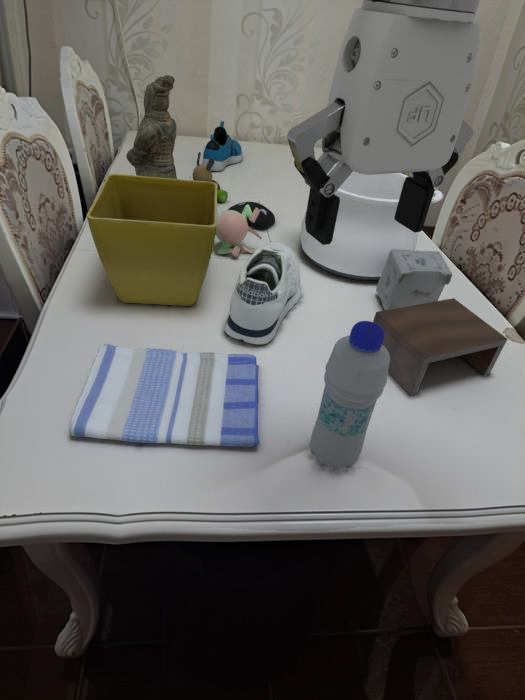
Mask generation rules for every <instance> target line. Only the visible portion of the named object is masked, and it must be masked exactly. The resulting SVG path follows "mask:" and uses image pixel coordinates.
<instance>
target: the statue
mask: <svg viewBox="0 0 525 700" xmlns="http://www.w3.org/2000/svg"><path fill="white" fill-rule="evenodd" d="M175 81H176V80H175V77H174V76H172V75H167V74H166V75H164V76H159V77H157V78H156V79H155V80H154V81H152V82H151V83H148V84H147V85H146V87H145V90H144V93H143V107H144V115H143V118H142V120H141V121H140V122H139V125H138V126H139V127H138V129H137V132H136V135H135V138H134V141H133V147H132V148H131V149H129V150H128V151H126V152H127V153H126V155H125V156H126V160H127V161H128V162H129V164H130V165H131V166H132V167H134V170H135V171H134V172H135V175H136V176H148V177H159V178H172V179H178V176H177V171H176V164H175V161H174V160H175V158H174V154H173V153H174V150H175V144H176V143H175V142H176V139H177V129H178V127H177V123H176V120H175V119H174V118H172V116H171V113H170V112H169V111H168V110H169V108H170V94H171V91H172V90H173V89H174V84H175Z"/></svg>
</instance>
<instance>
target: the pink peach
mask: <svg viewBox="0 0 525 700" xmlns="http://www.w3.org/2000/svg"><path fill="white" fill-rule="evenodd" d="M259 213H260V210H259V209H258V208H255V210H254V211H253V213H252V211H251V208H250V206H249V205H248V204H247V205H246V206H245V207H244V210H243V212H242V214H240V213H239V212H237V211H234V210H228V209H227V210H223V211H221V213H219V214H217V229H216V235H215V238H217V239H218V240H219V241H220V242H221V243H222V245H221V246H220V247H219V249H218V250H217V255H219V256H220V255H226V254H231V255H233V256H234V257H236V258H238V256H239V254H240V252H241V250H242V251H244V252H246V253H249V254H253V253H254V251H252V250H250V249H248V248H246V247H245V245H243V244H242V242H243V241H244V240H245V239H246V237H247V235H248V232H249V233H251V234H253V235H254V236H256V237H257V238H258V239H260V240H262V236H261V235H260V233H259V232H258V231H256V230H255V228H253V227H249V226H248V224H247V217H248V218H249V220H250V221H251V222H253V223H254V222H255V220H256V218H257V217H258V215H259ZM231 246H234V247H233V248H231Z"/></svg>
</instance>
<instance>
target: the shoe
mask: <svg viewBox="0 0 525 700" xmlns="http://www.w3.org/2000/svg"><path fill="white" fill-rule="evenodd" d="M224 126H225V121H224V120H220V125H219V126H216V127H215V128H214V131H213V133H212V134H210V136H209V137H210V140H209V141H207V143H206V145H205V147H204V149H203V154H202V161H201V165H206V166H207V163H208V161H209V158H211V157H212V158H213V159H214V160H215V163H214V165H213V167H212V168H211V172H223V170H224V169H225V168H226V167H227V166H230V165H236V164H239V163H240V162H241V161H242V160H243V149H242V145H241V144H240V142H239V141H238V140H236V139H232V137H231V136H230V135H229V134H228V132H227V130H226V128H225V127H224Z"/></svg>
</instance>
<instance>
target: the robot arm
mask: <svg viewBox="0 0 525 700" xmlns="http://www.w3.org/2000/svg"><path fill="white" fill-rule="evenodd" d="M480 1H481V0H362V4H361V7H354V10H353V13H352V14H351V15H352V16H351V18H350V21H349V24H348V26H347V30H346V31H345V32H346V33H345V35H344V37H343V38H344V39H343V42H342V45H341V48H340V51H339V55H338V59H337V61H336V65H335V69H334V74H333V77H332V81H331V85H330V91H329V94H328V99H327V105H326V107H324V108H323V109H321V110H319V111H318V112H316V113H314V114H313V115H312V116H309V117H308V118H306V119H305V120H303V121H302V122H300V123H298V124H297V125H295V126H294V127H291V128H290V129H289V130H288V132H287V134H286V139H287V143H288V146H289V148H290V151H291V152H290V153H291V155H292V158H293V159H294V160H293V164H294V167H295V169H296V170H297V172H298V173H299V174H300V175H301V177H302V178H303V180H304V183H305V185H307V186H308V187H309V194H308V198H307V199H308V200H307V205H306V211H305V213H306V217H305V225H306V231H307V233H309V234H310V235H311V236H312V237H314V238H315V239H316V240H317V241H319V242H320V243H321V244H322V245H327V244H330V243H331V242H332V239H333V234H334V229H335V224H336V219H337V214H338V209H339V204H340V198H339V197H338V196H336V195H335V194H334V193H335V192H336V191H337V190H338V189H339V187H340V186H341V185H342V184H343V183H344V181H345V180H346V179H347V178H348V177H349V176H350V174H351V173H352V172H353V171H354V172H356V173H359V174H364V175H375V174H392V173H402V174H405V173H411V175H412V176H409V177H406V179H405V181H404V184H403V187H402V191H401V195H400V198H399V202H398V206H397V209H396V213H395V217H394V218H395V220H396V221H397V222H398V223H400V224H402V225H403V226H405V227H406V228H408V229H410V230H411V231H413V232H417V233H421V232H422V231H423V228H424V225H425V223H426V219H427V217H428V213H429V210H430V208H431V204H432V203H431V201H432V198H433V197H434V191H436V189H437V188H440V187H441V186H442V185H443V184H444V181H445V176H446V175H447V174H448V172H449V171H451V170H452V168H453V167H455V165H456V164H457V163H458V162H459V158H460V155H461V154H462V153H463V152H464V149H465V148H466V146H467V145H468V144H469V142H470V140H471V139H472V137H473V136H474V130H473V128H472V127H471V126H470V125H469V124H468V123H467V122H466V121H465V120H464V115H465V112H466V107H467V104H468V100H469V96H470V92H471V87H472V82H473V79H474V73H475V68H476V64H477V57H478V50H479V42H480V33H481V22H478V21H475V18H476V15H477V14H476V13H477V12H478V8H479V4H480ZM319 140H321V151H322V154H321V155H320V156H319V158H318V159H317V160H316V156H315V154H316V152H315V145H316V143H317V142H318V141H319ZM459 154H460V155H459ZM335 164H337V165H336V166H335V167H334V169H333V170H332V171H331V172H330V173H329V175H328V176H327V173H328V172H329V171H330V170H331V169H332V168H333V166H334V165H335Z"/></svg>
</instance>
